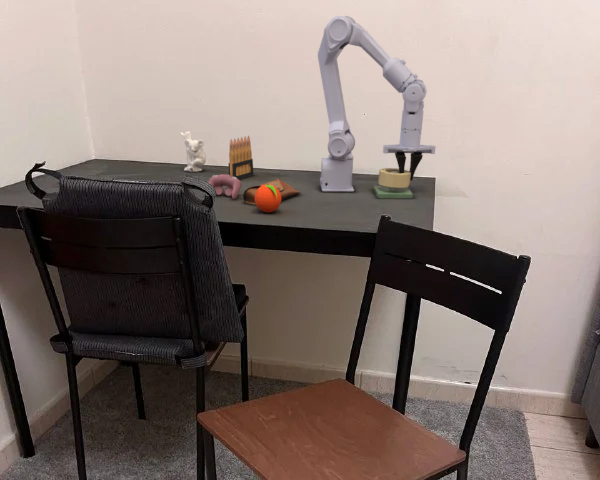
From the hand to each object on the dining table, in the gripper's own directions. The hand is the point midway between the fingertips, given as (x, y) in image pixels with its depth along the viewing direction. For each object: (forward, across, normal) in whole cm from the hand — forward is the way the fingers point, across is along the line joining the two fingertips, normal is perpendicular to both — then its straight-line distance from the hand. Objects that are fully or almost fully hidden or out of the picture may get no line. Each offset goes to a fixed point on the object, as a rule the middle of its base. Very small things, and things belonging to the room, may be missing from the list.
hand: (406, 179), depth 178 cm
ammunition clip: (+4, -49, +21) cm, 53 cm away
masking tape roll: (+1, -4, 0) cm, 4 cm away
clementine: (+4, -40, -21) cm, 45 cm away
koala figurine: (+4, -65, +31) cm, 72 cm away
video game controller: (+4, -53, -4) cm, 53 cm away
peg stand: (+4, -4, 0) cm, 5 cm away
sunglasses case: (+4, -38, -6) cm, 39 cm away
